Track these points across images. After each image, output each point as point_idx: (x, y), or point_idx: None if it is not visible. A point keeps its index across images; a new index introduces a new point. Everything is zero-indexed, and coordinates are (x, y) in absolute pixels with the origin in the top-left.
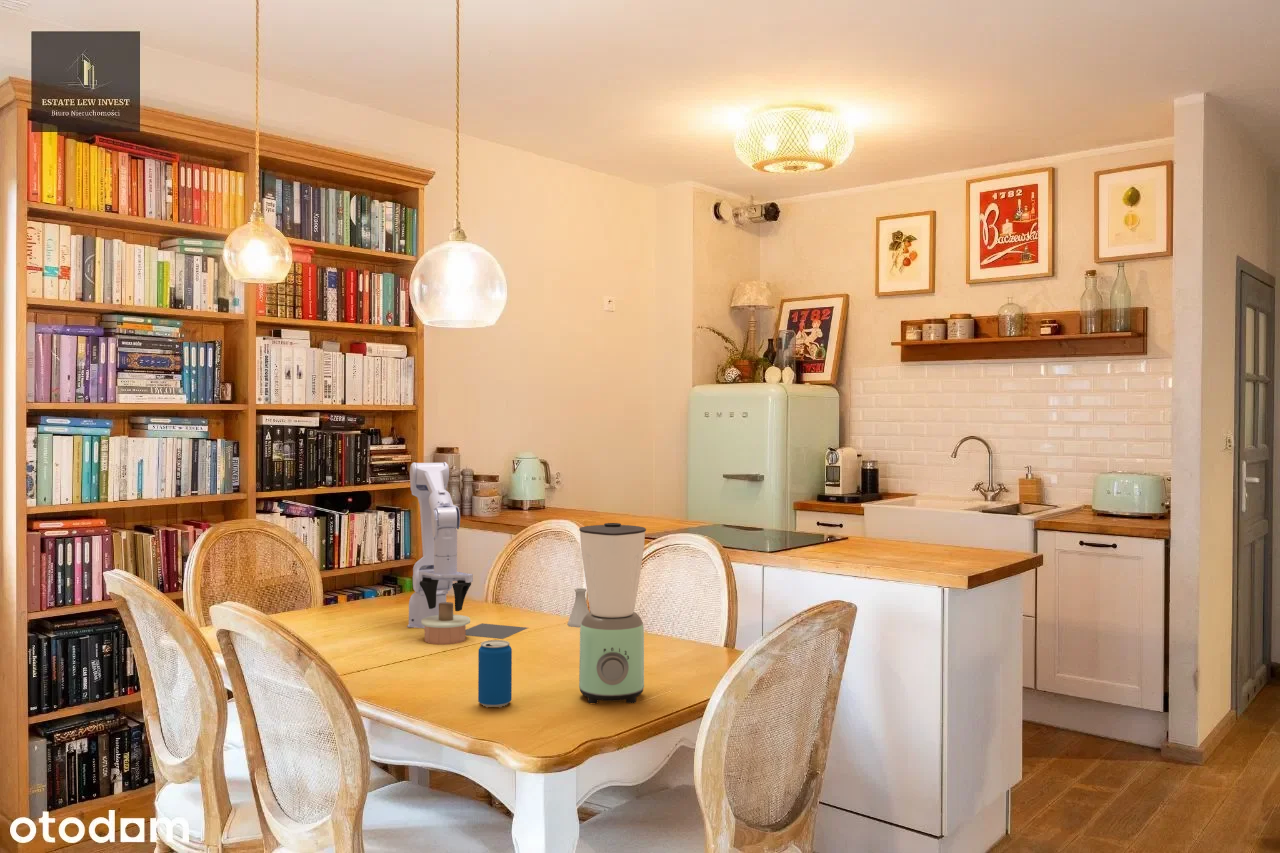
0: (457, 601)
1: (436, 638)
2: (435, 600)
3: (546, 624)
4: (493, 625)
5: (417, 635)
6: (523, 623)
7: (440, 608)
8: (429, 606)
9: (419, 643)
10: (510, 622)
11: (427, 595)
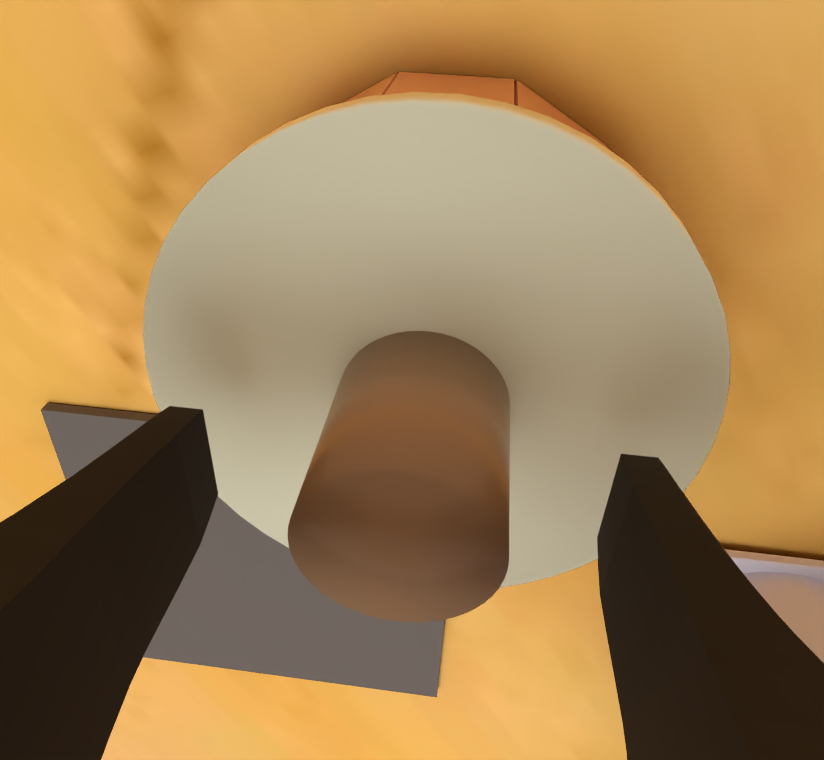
0: (62, 485)
1: (420, 89)
2: (610, 626)
3: (129, 724)
4: (341, 669)
5: (785, 390)
6: (245, 728)
7: (440, 435)
8: (652, 474)
9: (652, 103)
10: (320, 737)
11: (729, 615)
